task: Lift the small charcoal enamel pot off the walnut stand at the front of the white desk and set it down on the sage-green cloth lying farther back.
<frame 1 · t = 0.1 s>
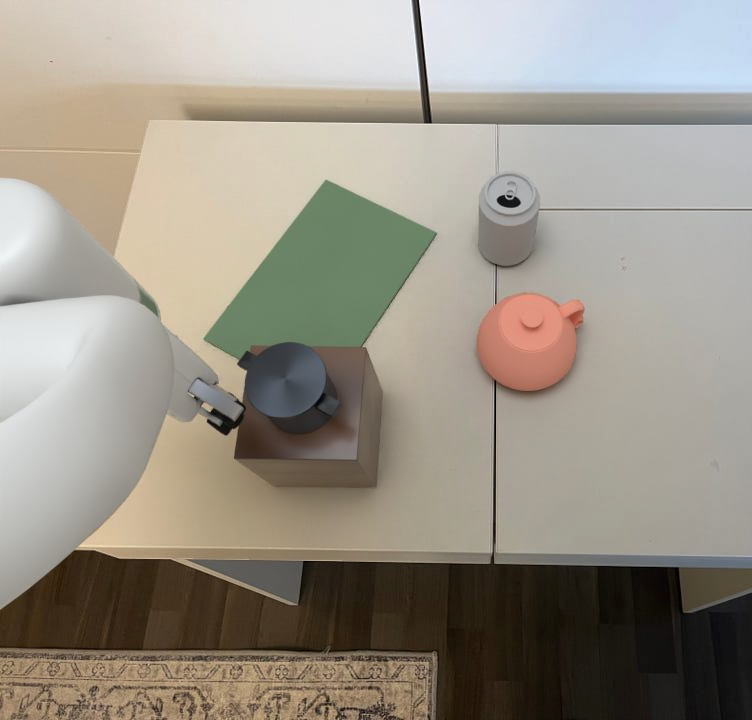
hand: (192, 397, 63), 17 cm above the table, tool pointing down, fingers open, 9 cm apart
can: (505, 245, 89), on the table
sugar bowl: (530, 349, 84), on the table
stand: (329, 437, 79), on the table
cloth: (324, 285, 87), on the table
pot: (302, 400, 66), point 14 cm above the table, touching stand
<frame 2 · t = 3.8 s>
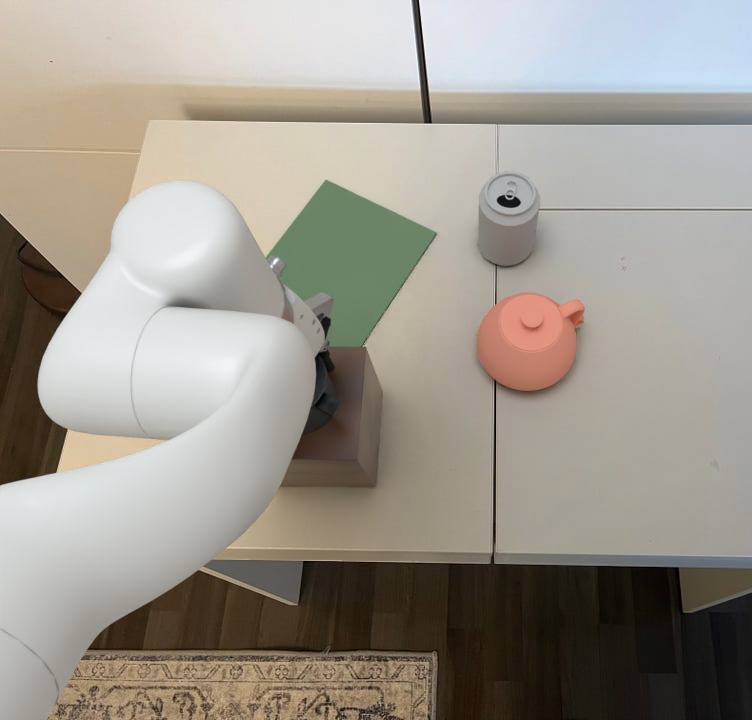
hand: (298, 395, 64), 16 cm above the table, tool pointing down, fingers closed on pot, 7 cm apart
pot: (302, 401, 66), point 14 cm above the table, touching gripper, stand
everything else where it was.
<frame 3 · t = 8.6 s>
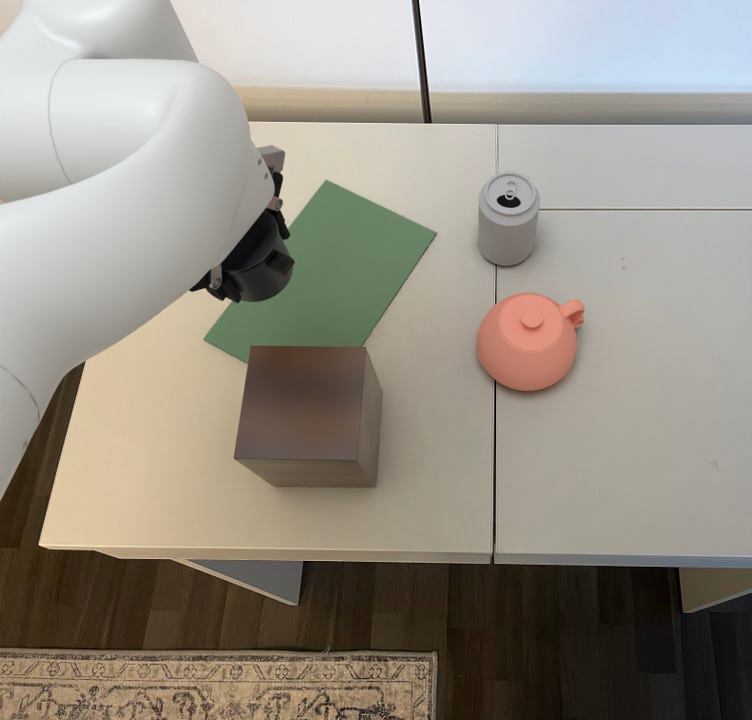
hand: (251, 262, 63), 22 cm above the table, tool pointing down, fingers closed on pot, 7 cm apart
pot: (257, 270, 64), point 20 cm above the table, touching gripper
everything else where it was.
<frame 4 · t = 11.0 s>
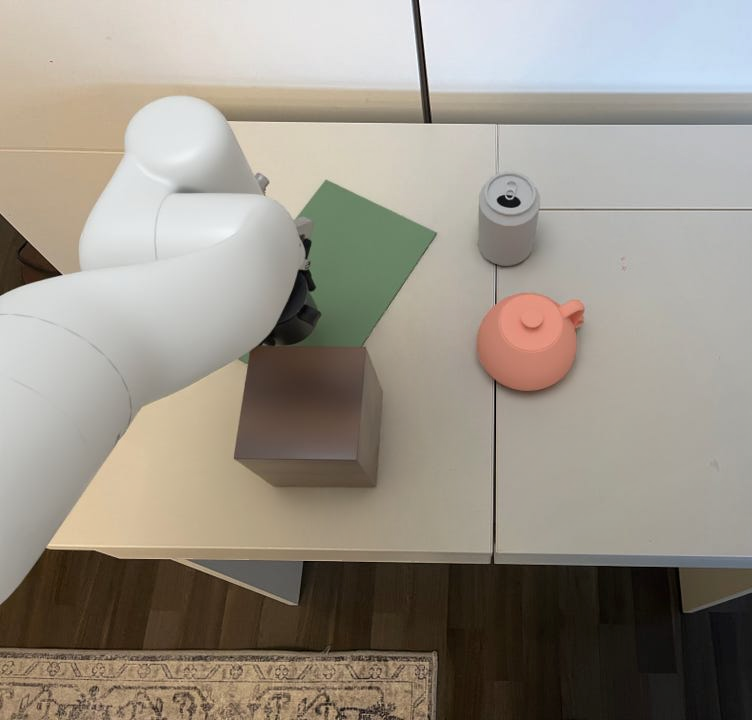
hand: (283, 311, 74), 10 cm above the table, tool pointing down, fingers closed on pot, 7 cm apart
pot: (287, 317, 75), point 9 cm above the table, touching gripper
everything else where it was.
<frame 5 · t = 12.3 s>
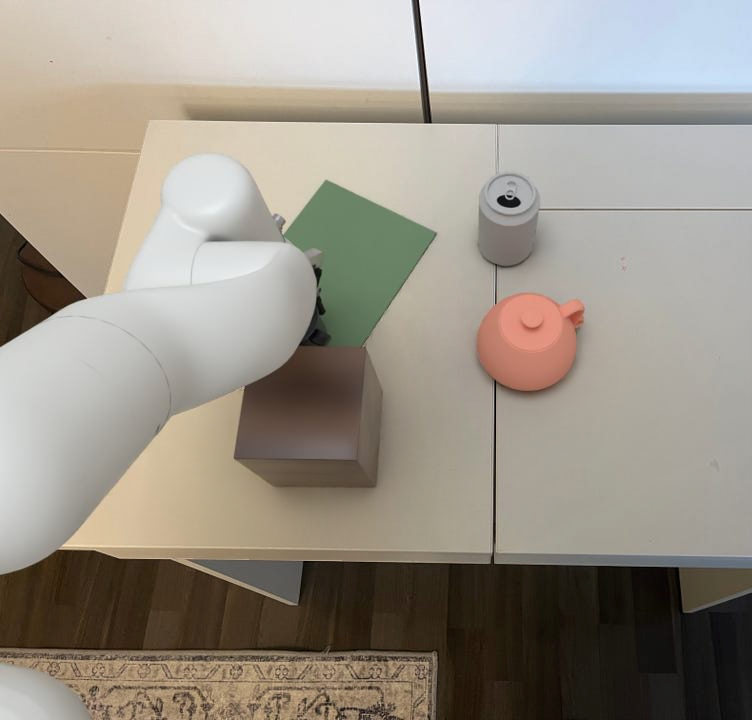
hand: (295, 334, 79), 4 cm above the table, tool pointing down, fingers closed on pot, 7 cm apart
pot: (299, 339, 81), point 3 cm above the table, touching gripper
everything else where it was.
when the fingers open (2 cm above the table, at t = 13.5 s): pot stays where it is, resting on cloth.
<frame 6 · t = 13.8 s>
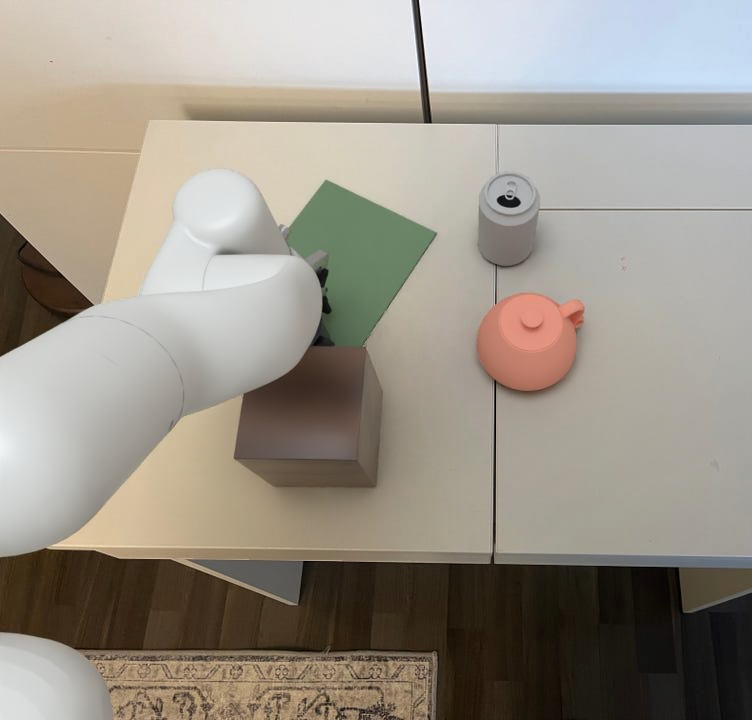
hand: (299, 337, 81), 2 cm above the table, tool pointing down, fingers open, 8 cm apart
pot: (303, 345, 83), resting on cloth
everything else where it was.
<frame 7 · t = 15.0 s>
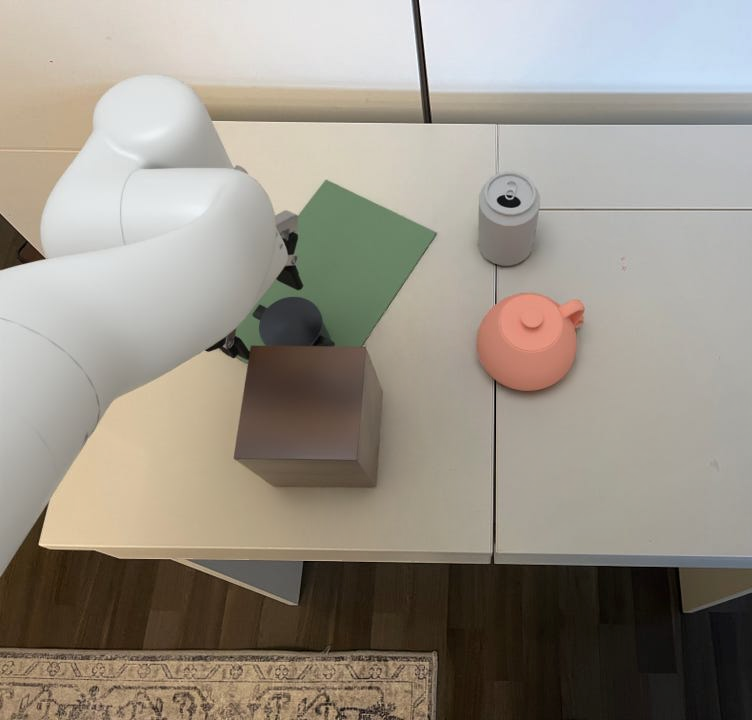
hand: (265, 317, 71), 13 cm above the table, tool pointing down, fingers open, 9 cm apart
nothing on the table moved.
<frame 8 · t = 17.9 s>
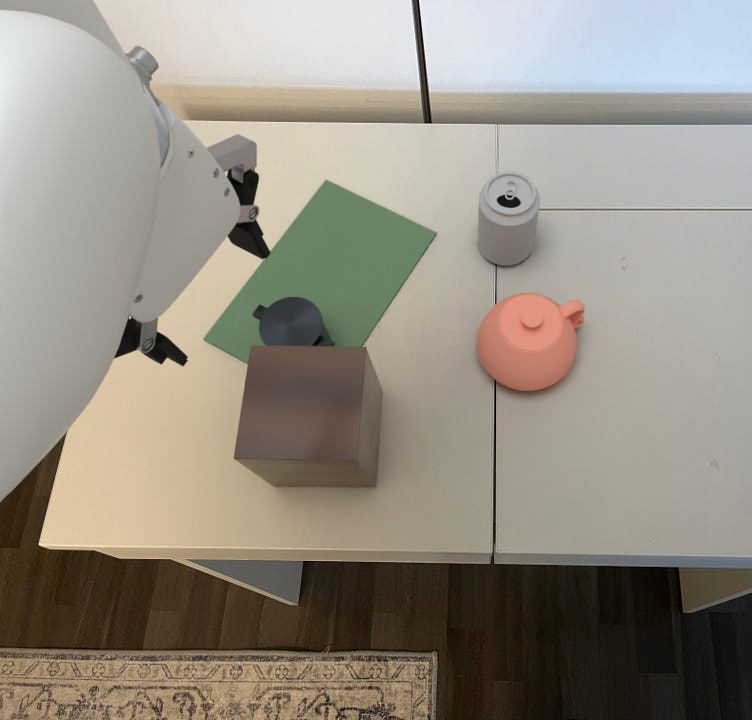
hand: (212, 299, 47), 34 cm above the table, tool pointing down, fingers open, 9 cm apart
nothing on the table moved.
at the end: pot inside the target area on the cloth (9.1 cm from its centre), point 0.4 cm above the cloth's base; pot tilted 0°; the gripper is holding nothing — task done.
